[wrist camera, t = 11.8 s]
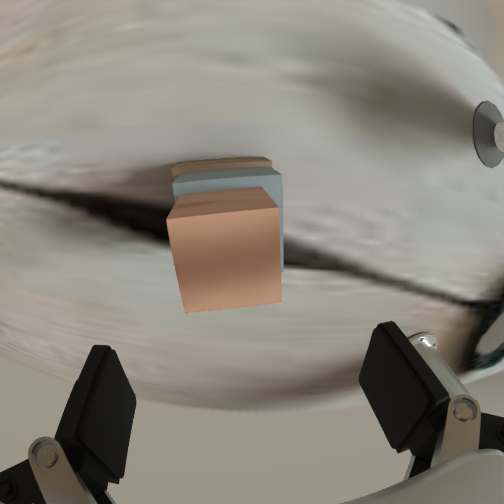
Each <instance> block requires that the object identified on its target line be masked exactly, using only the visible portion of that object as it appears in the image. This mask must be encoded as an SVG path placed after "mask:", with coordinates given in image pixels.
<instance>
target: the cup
mask: <svg viewBox="0 0 504 504" xmlns="http://www.w3.org/2000/svg"><path fill="white" fill-rule="evenodd" d="M473 136H474V142H475V148H476V150H477V153H478V155H479V158H480V159H481V160H482V162H483V163H484V164H485V165H486V166H488V167H491V168H493V167H495V166H497V165H499V163H500V162H501V160H502V159H503V157H504V120H503V117H502V115H501V113H500V111H499V110H498V109H497V107H496V106H495V105H494V104H492V103H490V102H489V101H488V102H482V103H481V104H480V106H479V107H478V108H477V110H476V113H475V117H474V122H473Z"/></svg>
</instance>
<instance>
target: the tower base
mask: <svg viewBox="0 0 504 504" xmlns="http://www.w3.org/2000/svg"><path fill="white" fill-rule="evenodd" d="M254 167H271V168H272V161H271V160H269V159H267V158H265V157H243V158H224V159H209V160H197V161H186V162H178V163H177V164H175V165H174V166H173V167H171V171H172V182H174V181H175V180H176V179H177V178H178V176H179V175H180V174H185V173H194V172H204V171H214V170H226V169H239V168H254Z"/></svg>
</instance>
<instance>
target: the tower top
mask: <svg viewBox="0 0 504 504" xmlns="http://www.w3.org/2000/svg"><path fill="white" fill-rule="evenodd" d="M172 186H173V194H174V203H176V201H177V199H178V198H179V196H180V195H186V194H194V193H202V192H211V191H220V190H230V189H240V188H251V187H263V189H264V190H265V191H266V192H267V193H268V195H269V196H270V197H271V198H272V199H273V201H274V202H275V203H276V204H277V206H278V207H279V219H280V251H281V272H283V188H282V174H280V173H279V172H277V171H276V170H274V169H273V168H271V167H254V168H239V169H226V170H214V171H204V172H194V173H185V174H180V175H179V176H178V178H177V179H176V180H175V181H174V182H173V183H172Z"/></svg>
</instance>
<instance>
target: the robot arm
mask: <svg viewBox="0 0 504 504" xmlns="http://www.w3.org/2000/svg"><path fill="white" fill-rule="evenodd" d="M436 348H437V339H436V338H435V337H434V335H433V334H431V333H421V334H418V335H415V336H413V337H411V338H410V339H408V338H407V337H406V336H405V335H404V333H403V332H402V331H401V330H400V328H399V327H398V326H397V325H396V323H394V322H393V321H390V322H385V323H380V324H378V325H377V327H376V328H375V329H374V330H373V333H372V336H371V340H370V343H369V347H368V350H367V353H366V357H365V360H364V363H363V366H362V369H361V372H360V375H359V383H360V385H361V387H362V389H363V391H364V393H365V395H366V397H367V399H368V401H369V403H370V405H371V407H372V409H373V411H374V413H375V415H376V417H377V419H378V421H379V423H380V425H381V427H382V429H383V431H384V433H385V435H386V438H387V440H388V442H389V444H390V445H391V447H392V448H393V449H396V451H397V452H398V453H401V452H404V451H406V450H408V449H410V451H411V453H412V456H411V459H410V462H409V465H408V469H407V471H406V474H405V477H404V480H403V482H400V483H398V484H395V485H393V486H390V487H388V488H385V489H383V490H380V491H378V492H375V493H372V494H369V495H366V496H364V497H360V498H357V499H354V500H351V501H348V502H344V503H341V504H504V417H499V416H495V415H491V414H487V413H484V411H483V410H482V409H481V407H480V406H479V404H478V402H477V401H476V400H475V399H474V398H473V397H472V396H471V394H470V393H469V392H468V390H467V389H466V388H465V387H464V385H463V384H462V383H461V381H460V380H459V379H458V377H457V376H456V375H455V374H454V372H453V371H452V370H451V369H450V367H449V366H448V365H447V364H446V362H445V361H444V360H443V359H442V357H441V356H440V355H439V354H438V352H437V351H436ZM135 408H136V396H135V394H134V392H133V390H132V388H131V386H130V383H129V381H128V379H127V377H126V375H125V372H124V370H123V368H122V366H121V363H120V361H119V358H118V356H117V354H116V351H115V350H112V349H111V347H110V346H108V345H94V346H93V347H92V349H91V351H90V353H89V355H88V358H87V360H86V362H85V364H84V367H83V369H82V371H81V374H80V376H79V378H78V380H77V381H76V382H75V384H74V387H73V389H72V392H71V394H70V397H69V399H68V402H67V404H66V407H65V409H64V412H63V415H62V418H61V420H60V423H59V426H58V429H57V432H56V435H55V438H54V439H53V438H51V437H40V438H38V439H36V440H35V441H34V442H33V443H32V444H31V445H30V448H29V450H28V458H29V459H27V460H25V461H23V462H21V463H19V464H17V465H15V466H13V467H11V468H9V469H6V470H4V471H2V472H0V504H116V503H115V501H114V500H113V498H112V497H111V495H110V494H109V492H108V491H107V486H108V482H111V483H115V484H119V479H120V478H123V476H124V472H125V465H126V458H127V452H128V446H129V439H130V434H131V429H132V423H133V418H134V413H135Z"/></svg>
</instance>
